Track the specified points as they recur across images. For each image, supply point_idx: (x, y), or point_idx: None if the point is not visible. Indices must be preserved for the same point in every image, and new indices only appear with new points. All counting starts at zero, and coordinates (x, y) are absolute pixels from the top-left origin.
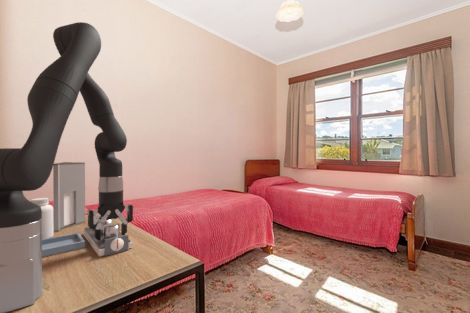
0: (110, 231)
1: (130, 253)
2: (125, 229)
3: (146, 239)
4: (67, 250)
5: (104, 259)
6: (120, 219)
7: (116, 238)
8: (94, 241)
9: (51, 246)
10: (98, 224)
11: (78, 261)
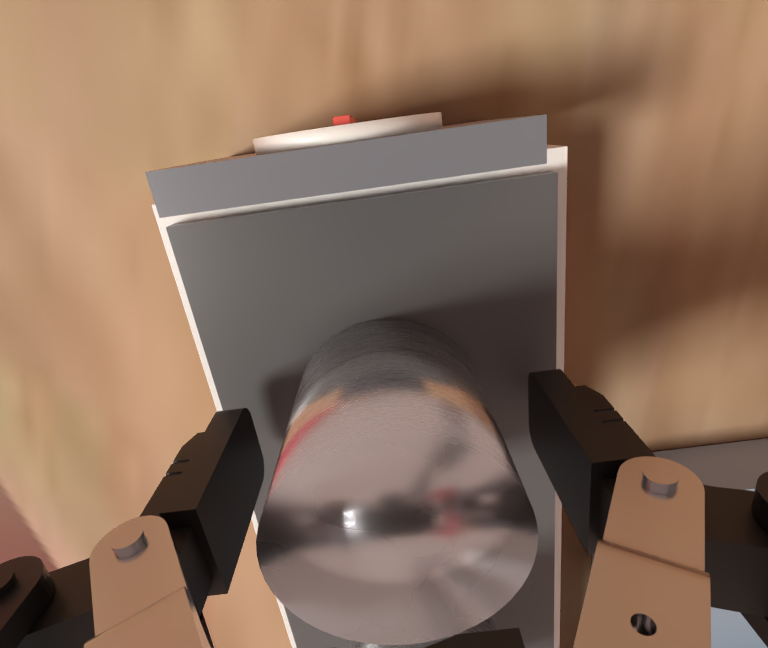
0: (424, 391)
1: (209, 25)
2: (190, 466)
3: (27, 386)
4: (743, 449)
5: (507, 10)
6: (206, 639)
7: (354, 140)
8: None
9: None
10: (686, 536)
11: (737, 129)
